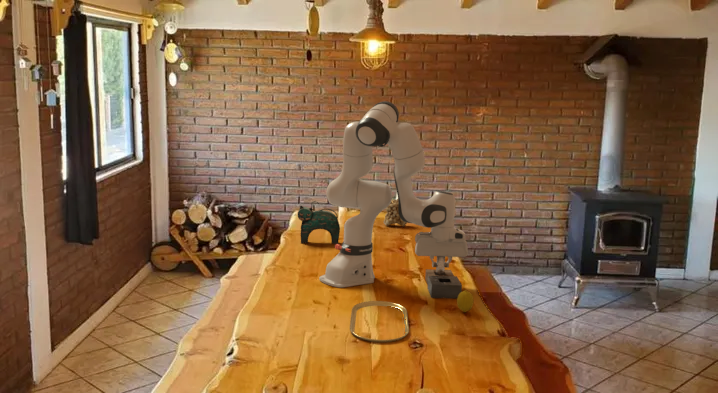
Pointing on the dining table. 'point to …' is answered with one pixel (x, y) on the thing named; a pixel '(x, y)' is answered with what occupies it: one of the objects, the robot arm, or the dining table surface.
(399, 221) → the mineral formation
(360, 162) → the robot arm
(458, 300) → the lemon
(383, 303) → the rounded metal frame
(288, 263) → the dining table surface
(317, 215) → the ceramic cat
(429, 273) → the socket block
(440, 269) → the steel peg
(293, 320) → the dining table surface
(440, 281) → the grey square-hole block
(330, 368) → the dining table surface
